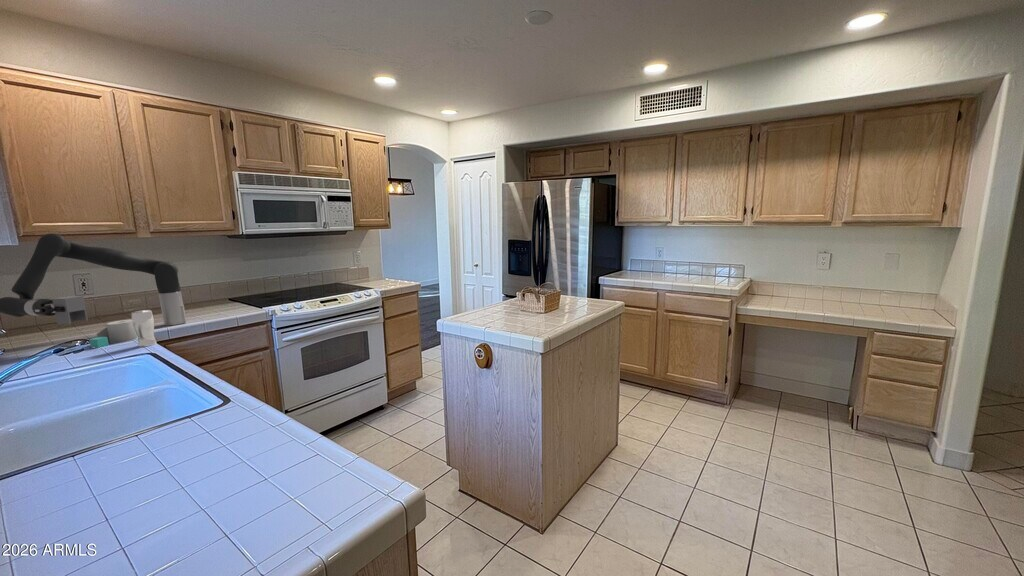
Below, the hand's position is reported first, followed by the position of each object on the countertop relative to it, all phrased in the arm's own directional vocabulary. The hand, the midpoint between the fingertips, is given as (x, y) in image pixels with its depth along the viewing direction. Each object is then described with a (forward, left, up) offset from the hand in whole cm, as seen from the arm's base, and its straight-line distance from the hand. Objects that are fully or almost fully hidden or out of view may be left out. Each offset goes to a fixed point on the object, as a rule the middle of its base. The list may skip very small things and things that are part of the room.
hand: (74, 307), depth 177 cm
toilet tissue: (-11, -5, -18) cm, 22 cm away
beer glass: (-23, +15, -18) cm, 33 cm away
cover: (+2, -2, -6) cm, 7 cm away
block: (-6, +3, -18) cm, 19 cm away
